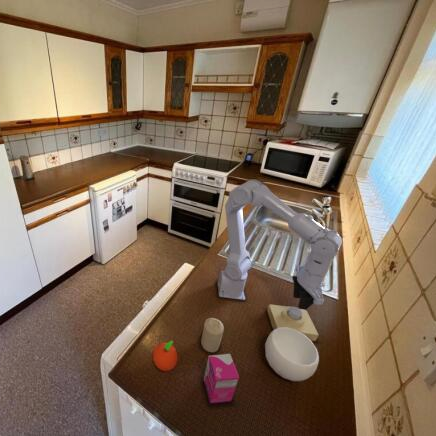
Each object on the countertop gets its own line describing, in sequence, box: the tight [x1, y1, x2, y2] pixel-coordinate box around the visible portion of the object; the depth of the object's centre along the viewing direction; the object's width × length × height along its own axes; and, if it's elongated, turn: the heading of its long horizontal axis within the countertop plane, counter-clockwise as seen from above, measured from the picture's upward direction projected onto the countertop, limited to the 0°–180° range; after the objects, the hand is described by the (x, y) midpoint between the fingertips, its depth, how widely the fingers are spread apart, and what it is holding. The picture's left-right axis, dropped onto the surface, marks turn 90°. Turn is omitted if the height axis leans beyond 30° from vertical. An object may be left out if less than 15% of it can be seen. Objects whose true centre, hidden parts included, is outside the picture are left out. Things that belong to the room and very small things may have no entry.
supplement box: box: [203, 353, 240, 404], centre depth 60 cm, size 6×6×12 cm
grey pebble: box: [288, 306, 302, 320], centre depth 78 cm, size 4×4×2 cm
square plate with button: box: [266, 303, 319, 342], centre depth 79 cm, size 12×10×5 cm
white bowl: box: [264, 327, 320, 382], centre depth 66 cm, size 12×12×10 cm
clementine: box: [152, 340, 178, 372], centre depth 67 cm, size 8×7×7 cm
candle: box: [200, 317, 225, 353], centre depth 71 cm, size 6×6×10 cm
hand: (299, 302), depth 75 cm, fingers open, 4 cm apart
